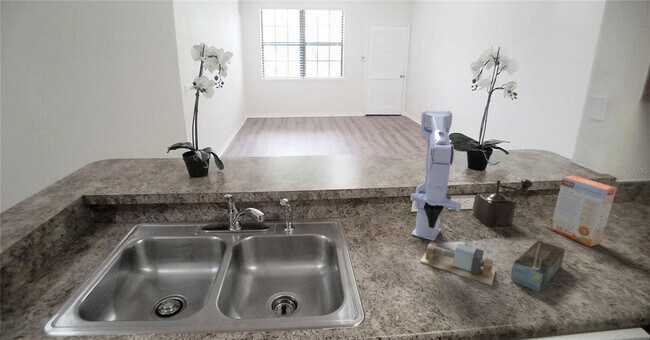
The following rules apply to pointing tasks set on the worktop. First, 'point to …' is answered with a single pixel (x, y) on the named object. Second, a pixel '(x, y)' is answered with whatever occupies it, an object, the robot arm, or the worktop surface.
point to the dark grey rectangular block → (476, 262)
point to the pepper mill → (497, 206)
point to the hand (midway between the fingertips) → (431, 226)
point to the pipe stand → (445, 261)
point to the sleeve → (464, 257)
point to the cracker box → (583, 209)
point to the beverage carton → (537, 265)
